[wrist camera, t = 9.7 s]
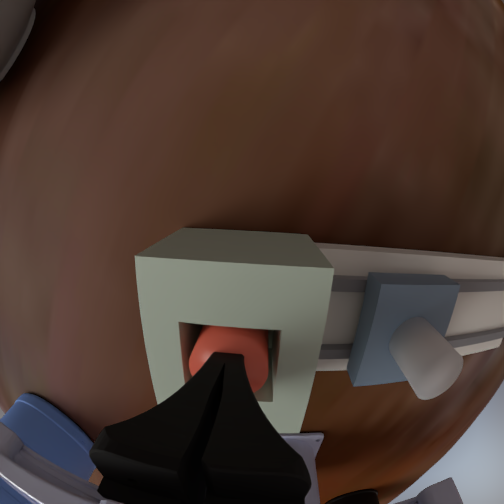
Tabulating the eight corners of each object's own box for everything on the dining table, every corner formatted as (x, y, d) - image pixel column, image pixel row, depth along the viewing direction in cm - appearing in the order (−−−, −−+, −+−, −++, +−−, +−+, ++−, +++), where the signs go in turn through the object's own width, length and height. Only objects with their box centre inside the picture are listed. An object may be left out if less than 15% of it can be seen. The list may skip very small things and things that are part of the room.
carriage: (416, 361, 16) (451, 412, 11) (346, 367, 17) (370, 432, 11) (444, 274, 15) (500, 311, 9) (368, 272, 15) (416, 319, 9)
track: (489, 344, 19) (524, 378, 12) (188, 355, 20) (161, 419, 13) (517, 254, 16) (564, 275, 9) (182, 227, 17) (134, 255, 10)
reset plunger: (265, 354, 16) (265, 400, 12) (206, 349, 16) (192, 392, 12) (270, 301, 15) (271, 340, 11) (205, 296, 15) (186, 333, 11)
